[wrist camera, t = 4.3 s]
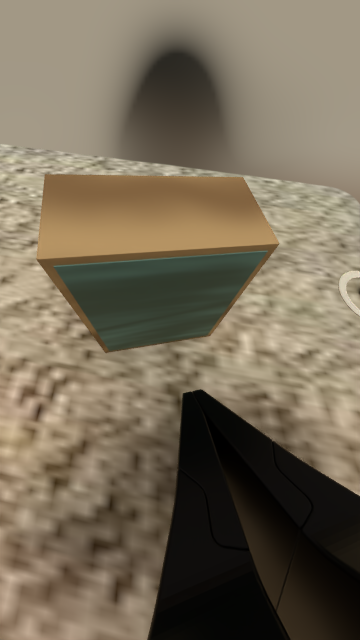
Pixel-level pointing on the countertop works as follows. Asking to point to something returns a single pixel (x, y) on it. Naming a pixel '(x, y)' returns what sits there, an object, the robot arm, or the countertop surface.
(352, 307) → the teacup and saucer
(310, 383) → the countertop surface
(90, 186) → the tan and teal block
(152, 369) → the countertop surface
